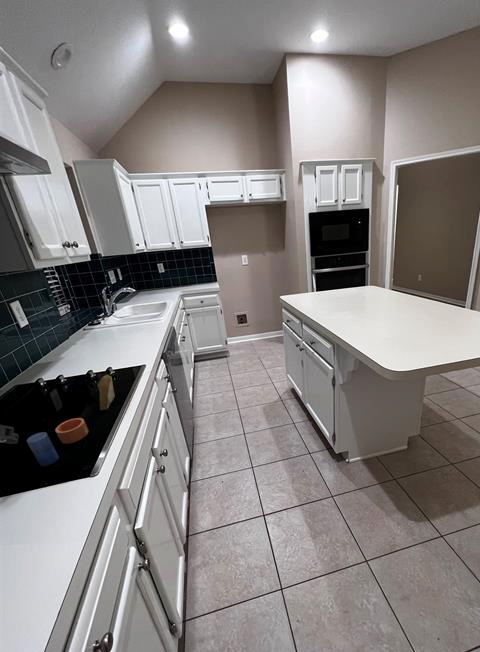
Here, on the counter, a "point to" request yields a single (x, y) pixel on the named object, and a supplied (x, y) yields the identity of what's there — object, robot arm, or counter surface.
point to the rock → (106, 392)
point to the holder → (72, 430)
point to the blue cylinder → (42, 449)
